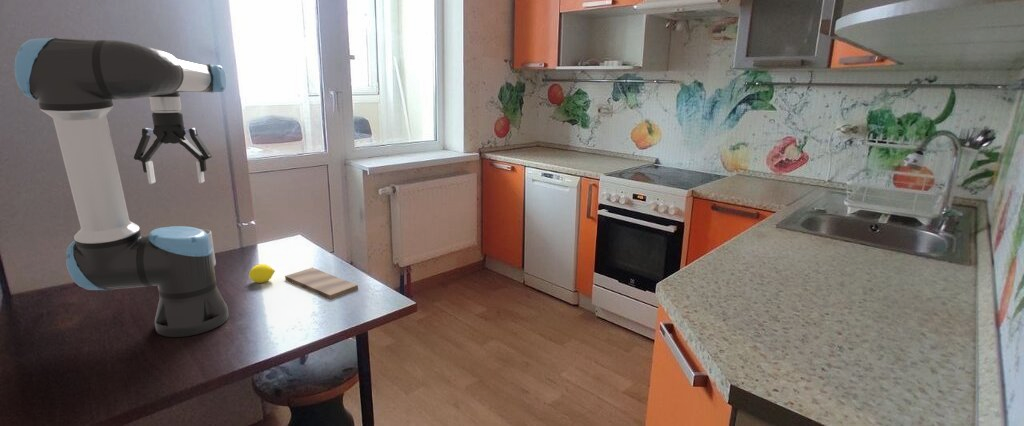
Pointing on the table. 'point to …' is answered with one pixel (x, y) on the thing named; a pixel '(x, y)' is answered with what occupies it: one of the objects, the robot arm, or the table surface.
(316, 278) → the cutting board
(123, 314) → the table surface
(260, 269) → the lemon
